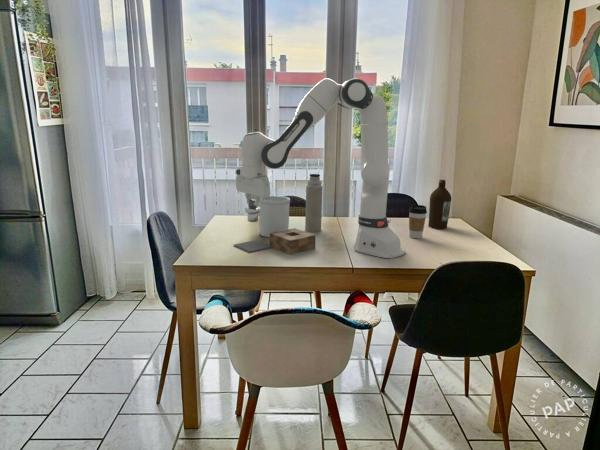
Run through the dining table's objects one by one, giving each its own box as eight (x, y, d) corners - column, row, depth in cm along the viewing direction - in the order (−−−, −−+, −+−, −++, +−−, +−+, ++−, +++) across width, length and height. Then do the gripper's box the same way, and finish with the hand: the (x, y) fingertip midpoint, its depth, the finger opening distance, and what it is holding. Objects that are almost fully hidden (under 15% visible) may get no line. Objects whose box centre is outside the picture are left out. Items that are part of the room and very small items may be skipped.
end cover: (263, 221, 183) (263, 200, 180) (250, 223, 179) (250, 202, 176) (254, 218, 187) (254, 197, 185) (242, 220, 183) (241, 199, 181)
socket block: (315, 248, 186) (315, 234, 184) (290, 254, 177) (290, 240, 175) (294, 240, 196) (294, 228, 194) (269, 246, 187) (269, 233, 185)
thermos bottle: (305, 227, 219) (307, 172, 212) (321, 228, 219) (323, 173, 212) (304, 231, 212) (305, 175, 205) (320, 232, 211) (322, 175, 204)
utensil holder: (269, 228, 216) (269, 194, 212) (295, 232, 209) (295, 197, 205) (252, 234, 204) (252, 198, 200) (278, 239, 197) (279, 202, 193)
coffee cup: (427, 237, 207) (430, 206, 203) (419, 240, 201) (422, 209, 197) (411, 233, 212) (414, 203, 209) (403, 236, 206) (405, 206, 203)
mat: (272, 247, 185) (272, 246, 185) (249, 252, 178) (249, 251, 177) (256, 241, 194) (256, 239, 194) (233, 245, 186) (233, 244, 186)
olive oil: (423, 226, 226) (427, 179, 220) (433, 223, 234) (438, 177, 227) (441, 230, 219) (447, 182, 213) (451, 227, 226) (457, 180, 220)
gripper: (274, 174, 172) (273, 208, 176) (245, 169, 187) (245, 200, 191) (261, 175, 168) (261, 210, 172) (233, 169, 183) (233, 201, 187)
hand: (252, 204), depth 181 cm, fingers closed on end cover, 3 cm apart
